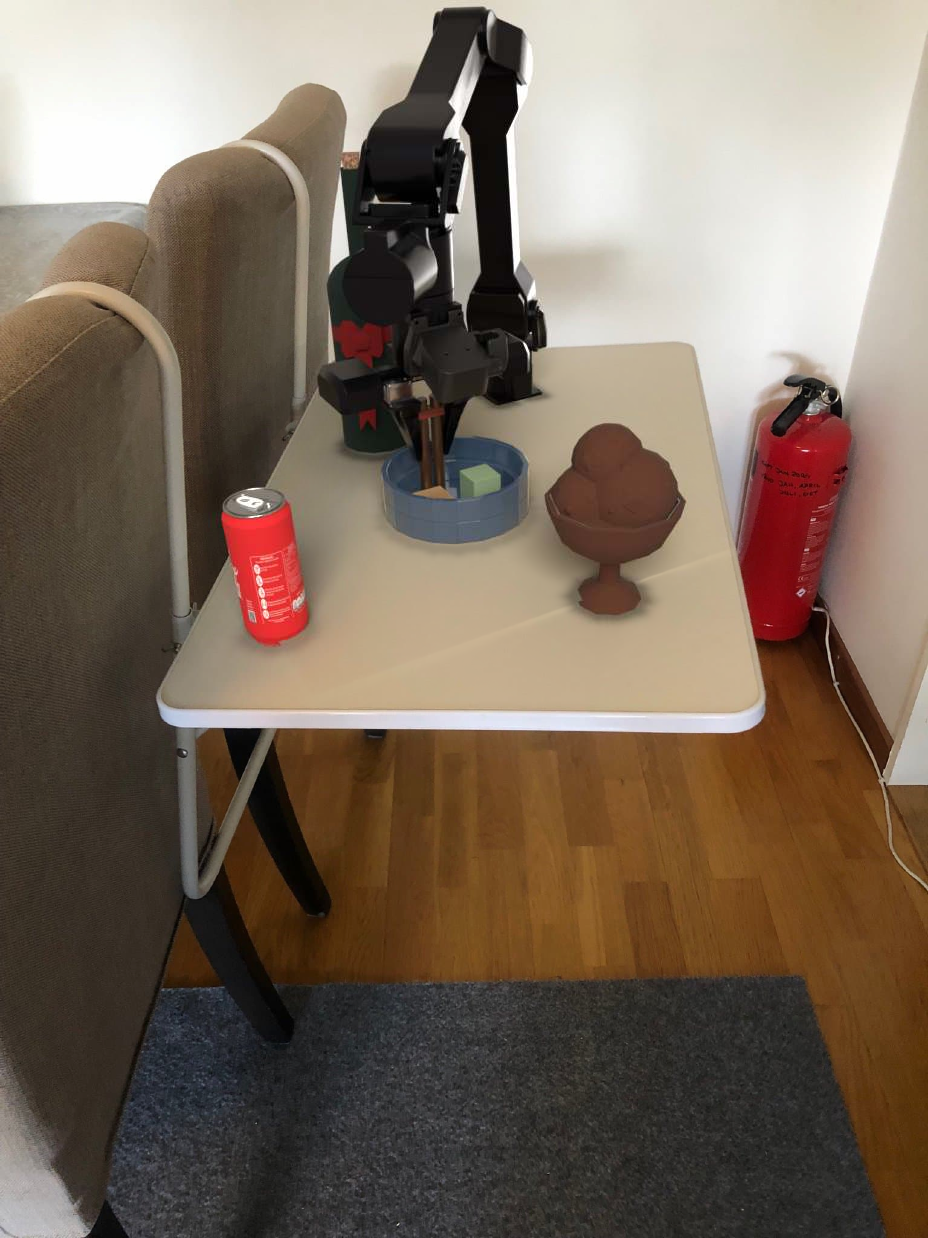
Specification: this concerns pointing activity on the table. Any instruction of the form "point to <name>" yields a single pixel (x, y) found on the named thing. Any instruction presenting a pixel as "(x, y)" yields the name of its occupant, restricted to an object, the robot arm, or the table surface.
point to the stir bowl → (457, 493)
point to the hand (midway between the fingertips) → (431, 457)
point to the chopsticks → (435, 415)
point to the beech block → (435, 493)
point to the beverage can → (265, 564)
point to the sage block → (479, 481)
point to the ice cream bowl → (613, 510)
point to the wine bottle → (359, 334)
